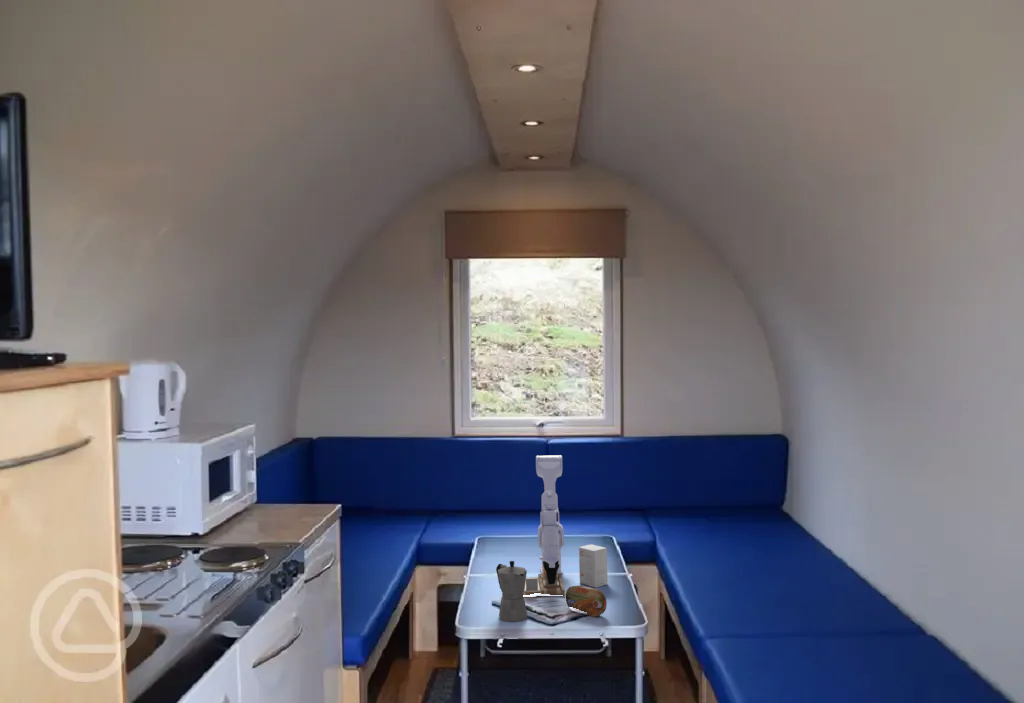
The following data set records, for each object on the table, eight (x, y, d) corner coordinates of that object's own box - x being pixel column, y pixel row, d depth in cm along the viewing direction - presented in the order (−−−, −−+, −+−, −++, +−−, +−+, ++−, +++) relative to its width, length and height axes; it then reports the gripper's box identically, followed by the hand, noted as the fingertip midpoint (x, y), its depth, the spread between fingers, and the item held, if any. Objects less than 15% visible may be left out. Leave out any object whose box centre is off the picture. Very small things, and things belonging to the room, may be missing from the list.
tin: (565, 609, 284) (564, 584, 283) (571, 607, 286) (570, 581, 286) (602, 619, 274) (601, 592, 273) (608, 617, 276) (607, 590, 276)
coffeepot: (537, 619, 275) (536, 562, 274) (512, 626, 269) (510, 568, 269) (510, 607, 287) (509, 552, 287) (485, 613, 282) (484, 557, 282)
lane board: (519, 580, 317) (518, 574, 317) (560, 579, 318) (560, 573, 318) (520, 597, 297) (520, 591, 297) (564, 596, 298) (564, 589, 298)
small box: (608, 584, 310) (607, 547, 310) (595, 588, 306) (594, 551, 306) (591, 579, 317) (591, 543, 316) (579, 583, 313) (578, 546, 312)
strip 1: (522, 579, 314) (522, 567, 314) (537, 579, 314) (537, 566, 314) (524, 592, 299) (523, 579, 299) (540, 592, 299) (539, 578, 299)
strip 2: (541, 575, 320) (541, 562, 320) (556, 574, 320) (556, 562, 320) (543, 587, 305) (543, 574, 305) (559, 586, 305) (559, 573, 305)
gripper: (537, 539, 313) (538, 577, 313) (540, 549, 298) (540, 589, 299) (557, 538, 313) (558, 576, 313) (560, 549, 298) (561, 588, 299)
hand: (551, 582), depth 306 cm, fingers closed on strip 2, 2 cm apart
